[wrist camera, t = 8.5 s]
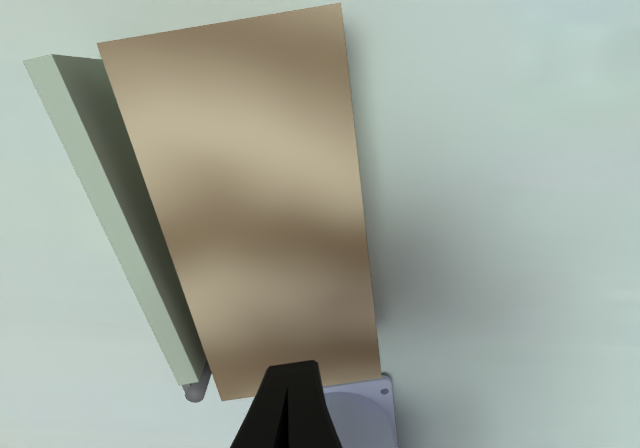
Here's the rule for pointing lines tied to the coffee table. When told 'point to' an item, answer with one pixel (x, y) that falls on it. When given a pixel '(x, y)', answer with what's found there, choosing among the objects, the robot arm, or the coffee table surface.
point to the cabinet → (256, 189)
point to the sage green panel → (121, 203)
